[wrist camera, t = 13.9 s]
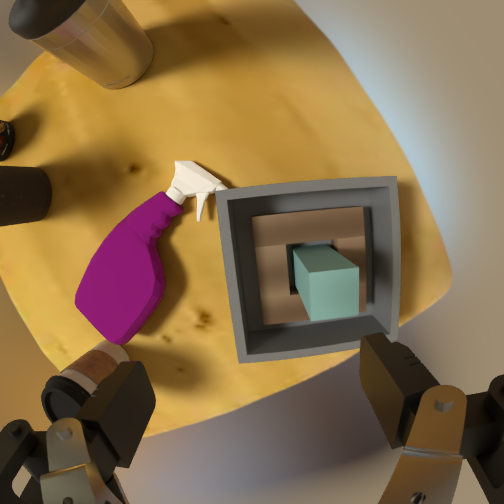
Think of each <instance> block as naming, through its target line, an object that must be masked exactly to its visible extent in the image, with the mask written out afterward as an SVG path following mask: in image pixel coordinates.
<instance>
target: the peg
mask: <svg viewBox="0 0 504 504" xmlns="http://www.w3.org/2000/svg"><path fill="white" fill-rule="evenodd" d="M291 252H292V266H293V281H294V283H295V285H296V288H297V290H298V292H299V294H300V297H301V299H302V301H303V304H304V306H305V309H306V311H307V313H308V316H309V318H310V320H311V321H319V320H327V319H334V318H342V317H349V316H356V315H359V267H358V266H356V265H355V264H353V263H352V262H351V261H349V260H348V259H346V258H345V257H343V256H342V255H340V254H339V253H338V252H336V251H335V250H333V249H332V248H330V247H329V246H327V245H326V244H317V245H307V246H296V247H291Z"/></svg>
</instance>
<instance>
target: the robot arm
mask: <svg viewBox="0 0 504 504" xmlns="http://www.w3.org/2000/svg"><path fill="white" fill-rule="evenodd" d="M9 26H10V28H11V30H12V31H13V32H15V33H16V34H18V35H20V36H21V37H23V38H25V39H27V40H29V41H30V42H32V43H34V44H35V45H37V46H39V47H40V48H42V49H44V50H45V51H47V52H49V53H50V54H52V55H54V56H55V57H57V58H59V59H60V60H62V61H63V62H65V63H67V64H68V65H70V66H71V67H73V68H75V69H76V70H78V71H79V72H81V73H82V74H84V75H86V76H87V77H89V78H90V79H92V80H93V81H95V82H96V83H98V84H99V85H101V86H103V87H104V88H107V89H119V88H123V87H125V86H128V85H130V84H131V83H133V82H135V81H136V80H137V79H139V78H140V77H141V76H142V75H143V74H144V73H145V72H146V70H147V69H148V67H149V66H150V63H151V61H152V59H153V54H154V48H153V45H152V43H151V41H150V40H149V38H148V37H147V36H146V34H145V33H144V30H143V29H142V27H141V26H140V25H139V23H138V22H137V21H136V19H135V18H134V17H133V15H132V14H131V13H130V11H129V10H128V9H127V7H126V6H125V5H124V3H123V2H122V1H121V0H16V1H15V3H14V5H13V7H12V9H11V12H10V15H9ZM359 372H360V381H361V385H362V387H363V390H364V391H365V394H366V395H367V398H368V400H369V402H370V404H371V406H372V408H373V410H374V412H375V414H376V416H377V418H378V420H379V422H380V425H381V427H382V429H383V431H384V433H385V435H386V437H387V440H388V442H389V444H390V445H391V448H392V449H395V448H398V447H401V446H404V449H403V451H402V453H401V455H400V458H399V460H398V463H397V465H396V467H395V470H394V472H393V474H392V476H391V478H390V481H389V483H388V485H387V487H386V489H385V491H384V493H383V495H382V497H381V499H380V501H379V502H378V504H451V503H452V500H453V497H454V493H455V490H456V486H457V482H458V479H459V474H460V470H461V466H462V460H463V459H467V461H468V463H469V465H470V466H471V468H472V470H473V472H474V474H475V476H476V478H477V480H478V481H479V484H480V486H481V488H482V489H483V492H484V494H485V495H486V498H487V500H488V502H489V504H504V375H500V376H497V377H496V378H494V379H493V380H492V382H491V383H490V386H489V389H488V391H487V392H482V393H476V394H471V395H465V394H464V392H463V391H462V390H460V389H459V388H456V387H454V386H451V385H440V384H439V382H438V381H437V380H436V379H435V378H434V376H433V375H432V374H431V373H430V372H429V371H428V369H427V368H426V367H425V366H424V365H423V364H422V363H421V362H420V360H419V359H418V358H417V357H415V354H414V353H413V352H412V351H411V350H410V349H409V348H408V347H407V346H405V345H403V344H401V343H399V342H394V343H391V342H390V341H389V339H388V338H387V337H386V336H385V335H384V333H383V332H378V333H374V334H369V335H365V336H362V337H361V340H360V371H359ZM155 404H156V398H155V393H154V391H153V388H152V386H151V383H150V381H149V378H148V376H147V373H146V370H145V368H144V365H143V364H142V362H140V361H122V362H120V364H119V365H118V366H117V368H116V369H115V370H114V372H113V373H111V374H110V375H108V376H107V377H106V378H104V379H103V380H102V381H101V382H100V383H99V385H98V386H97V387H96V390H94V391H93V393H92V394H91V397H89V398H88V399H87V401H86V402H85V403H84V405H83V406H82V408H81V409H80V410H79V412H78V413H77V414H76V416H75V417H74V418H63V419H60V420H58V421H56V422H54V423H53V424H52V425H51V426H50V427H49V428H48V430H47V431H34V430H33V429H32V427H31V426H30V424H29V423H28V422H27V421H26V420H22V419H18V420H14V421H12V422H10V423H8V424H7V425H6V426H5V427H4V428H3V429H2V431H1V432H0V504H129V502H128V500H127V498H126V496H125V493H124V491H123V489H122V487H121V484H120V482H119V479H118V477H117V475H116V474H115V473H114V470H115V467H116V466H117V467H123V468H129V467H130V464H131V462H132V459H133V457H134V455H135V452H136V450H137V448H138V445H139V443H140V441H141V438H142V436H143V434H144V431H145V429H146V427H147V425H148V422H149V420H150V418H151V415H152V413H153V411H154V409H155ZM22 465H23V466H24V467H25V468H26V469H27V471H28V472H29V473H30V474H31V475H32V476H31V478H30V480H29V482H28V483H27V485H26V487H25V488H24V490H23V492H22V494H21V496H20V498H19V497H18V496H17V495H16V494H15V493H14V491H13V489H12V481H13V479H14V478H15V476H16V475H17V473H18V471H19V470H20V468H21V466H22Z"/></svg>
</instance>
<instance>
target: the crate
mask: <svg viewBox="0 0 504 504" xmlns="http://www.w3.org/2000/svg"><path fill="white" fill-rule="evenodd" d="M215 196H216V204H217V213H218V221H219V229H220V237H221V244H222V252H223V259H224V267H225V274H226V281H227V288H228V295H229V302H230V309H231V316H232V323H233V329H234V336H235V342H236V348H237V355H238V361H239V364H240V363H253V362H264V361H274V360H283V359H292V358H300V357H307V356H314V355H321V354H328V353H334V352H340V351H346V350H352V349H357V348H360V340H361V337H362V336H365V335H369V334H374V333H378V332H383V333H384V335H385V336H386V337H387V338H388V339H389V341H390V342H391V341H396V340H397V336H398V324H399V310H400V289H401V233H400V212H399V198H398V186H397V177H396V176H384V177H360V178H342V179H326V180H313V181H300V182H289V183H278V184H268V185H259V186H250V187H241V188H233V189H225V190H217V191H215ZM345 206H362V207H363V216H364V231H365V252H366V311H364V312H359V315H356V316H349V317H342V318H334V319H327V320H319V321H311V320H304V321H296V322H287V323H278V324H269V325H264V324H263V315H262V306H261V297H260V288H259V279H258V270H257V261H256V253H255V244H254V235H253V226H252V215H261V214H270V213H280V212H290V211H300V210H311V209H322V208H333V207H345ZM317 244H326V245H327V246H329V247H330V248H331V240H322V241H313V242H303V243H294V244H286V254H287V266H288V277H289V287H293V286H296V285H295V283H294V281H293V266H292V252H291V247H296V246H307V245H317Z"/></svg>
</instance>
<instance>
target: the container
mask: <svg viewBox="0 0 504 504" xmlns="http://www.w3.org/2000/svg"><path fill="white" fill-rule="evenodd" d="M50 202H51V185H50V181H49V179H48V177H47V175H46V173H45V172H44V171H43V170H41V169H39V168H35V167H17V166H0V226H7V225H15V224H22V223H29V222H36V221H39V220H40V219H42V218H43V217H44V216H45V214H46V213H47V211H48V209H49V206H50Z"/></svg>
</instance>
